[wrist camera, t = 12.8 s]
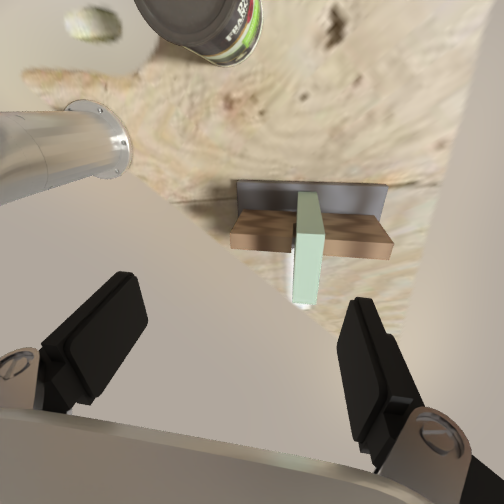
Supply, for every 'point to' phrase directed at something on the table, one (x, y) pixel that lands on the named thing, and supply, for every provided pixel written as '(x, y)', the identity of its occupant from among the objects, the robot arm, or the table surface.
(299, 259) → the green slat
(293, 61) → the table surface
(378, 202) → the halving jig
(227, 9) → the coffee can
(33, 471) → the robot arm
